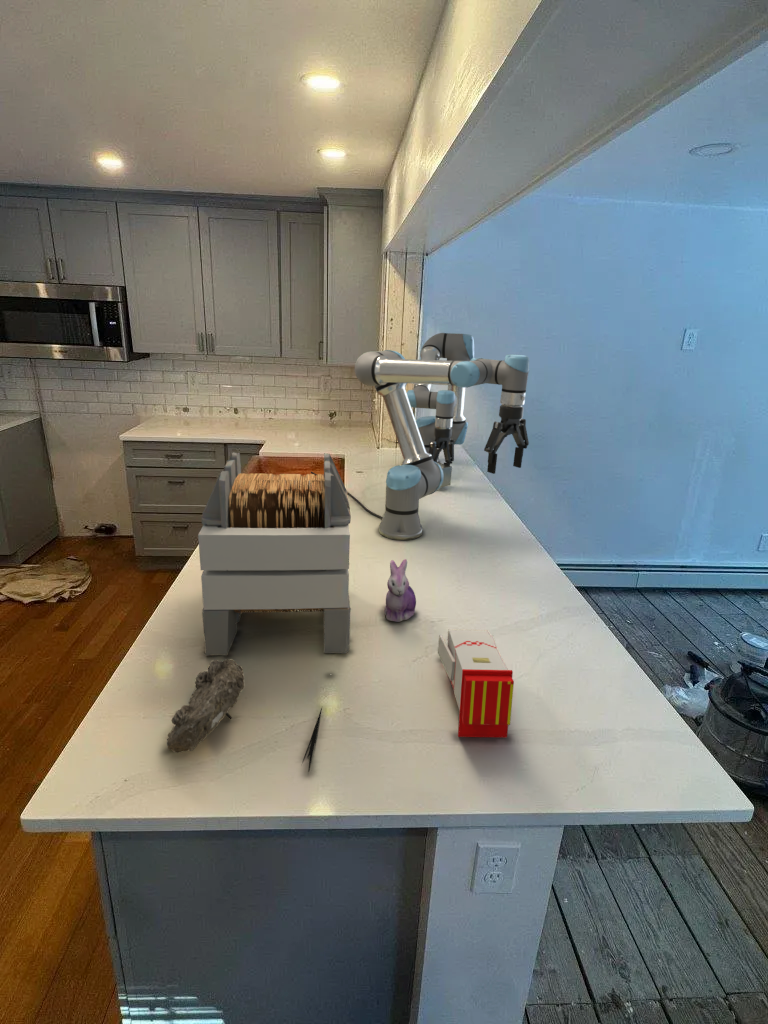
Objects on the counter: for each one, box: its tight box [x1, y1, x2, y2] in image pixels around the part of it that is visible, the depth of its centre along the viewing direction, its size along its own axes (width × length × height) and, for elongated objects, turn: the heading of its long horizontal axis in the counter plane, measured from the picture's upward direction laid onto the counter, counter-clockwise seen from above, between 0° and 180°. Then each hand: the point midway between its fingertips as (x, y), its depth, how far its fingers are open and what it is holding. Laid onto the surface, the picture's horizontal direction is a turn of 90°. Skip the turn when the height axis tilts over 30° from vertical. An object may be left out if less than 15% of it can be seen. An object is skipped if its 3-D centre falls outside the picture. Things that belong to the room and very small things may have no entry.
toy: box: [437, 628, 515, 738], centre depth 117 cm, size 12×13×30 cm
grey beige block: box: [437, 462, 453, 489], centre depth 251 cm, size 8×7×9 cm
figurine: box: [384, 558, 417, 623], centre depth 145 cm, size 9×10×15 cm
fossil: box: [166, 658, 245, 754], centre depth 106 cm, size 22×10×15 cm
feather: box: [301, 673, 332, 771], centre depth 108 cm, size 2×28×2 cm
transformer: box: [197, 451, 352, 657], centre depth 136 cm, size 34×33×41 cm
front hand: (504, 469), depth 187 cm, fingers open, 13 cm apart
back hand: (439, 478), depth 251 cm, fingers closed on grey beige block, 7 cm apart
